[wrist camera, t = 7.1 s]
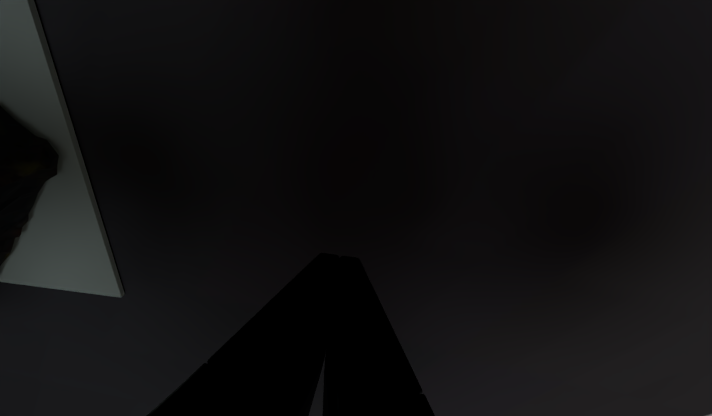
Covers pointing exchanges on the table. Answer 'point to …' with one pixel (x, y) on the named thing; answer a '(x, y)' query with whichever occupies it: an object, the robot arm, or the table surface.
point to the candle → (20, 177)
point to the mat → (66, 189)
